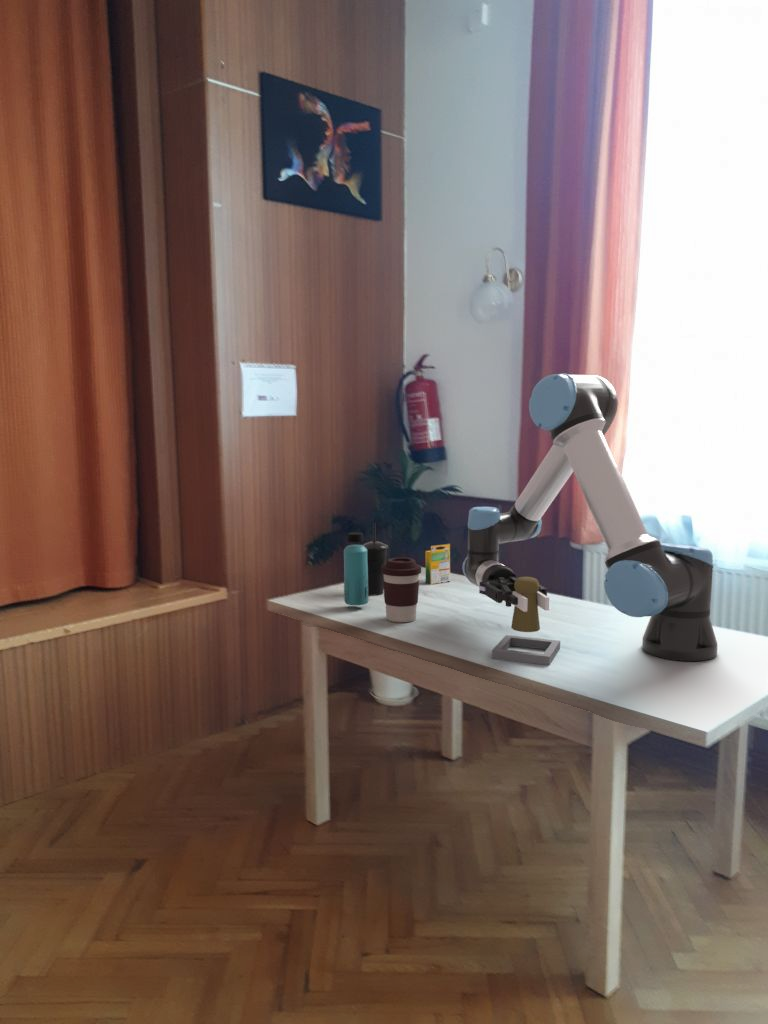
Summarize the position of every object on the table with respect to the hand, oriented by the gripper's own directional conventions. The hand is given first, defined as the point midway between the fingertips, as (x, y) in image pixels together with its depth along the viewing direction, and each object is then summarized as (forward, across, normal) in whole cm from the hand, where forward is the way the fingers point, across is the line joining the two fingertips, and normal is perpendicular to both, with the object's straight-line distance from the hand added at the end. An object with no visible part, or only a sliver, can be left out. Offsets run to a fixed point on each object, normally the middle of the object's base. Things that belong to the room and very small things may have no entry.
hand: (536, 604), depth 164 cm
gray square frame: (-5, 0, -12) cm, 13 cm away
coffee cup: (-38, +19, -13) cm, 44 cm away
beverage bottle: (-52, +28, -13) cm, 60 cm away
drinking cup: (-67, +20, -13) cm, 71 cm away
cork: (-5, 0, -7) cm, 9 cm away
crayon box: (-76, -1, -13) cm, 77 cm away
